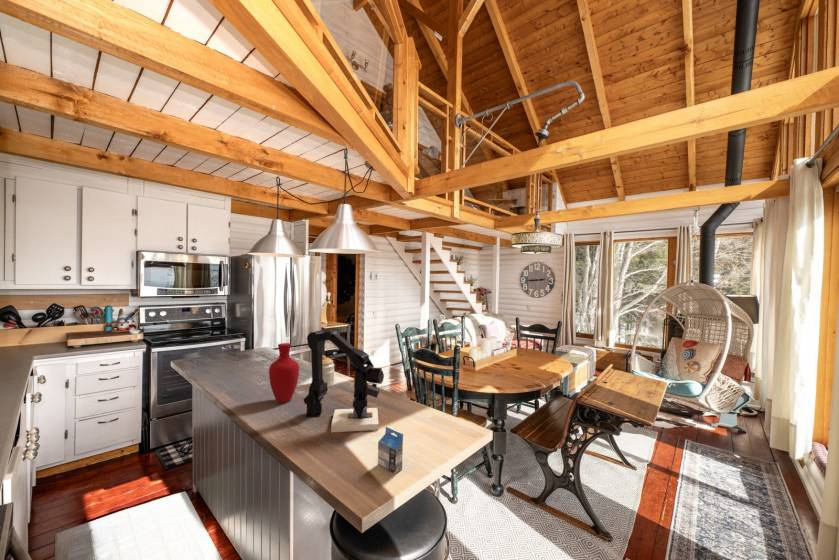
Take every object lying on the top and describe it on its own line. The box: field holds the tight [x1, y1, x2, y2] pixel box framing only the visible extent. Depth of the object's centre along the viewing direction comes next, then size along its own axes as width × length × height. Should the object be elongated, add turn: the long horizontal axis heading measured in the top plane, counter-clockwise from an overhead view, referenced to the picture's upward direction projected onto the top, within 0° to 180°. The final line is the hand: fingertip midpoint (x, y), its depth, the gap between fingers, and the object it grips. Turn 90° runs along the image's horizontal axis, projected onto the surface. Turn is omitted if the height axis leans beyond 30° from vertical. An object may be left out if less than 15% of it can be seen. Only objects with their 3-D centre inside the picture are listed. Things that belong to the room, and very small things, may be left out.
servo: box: [348, 406, 372, 419], centre depth 155 cm, size 11×4×6 cm, turn 99°
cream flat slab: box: [330, 407, 379, 433], centre depth 155 cm, size 20×18×3 cm
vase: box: [268, 342, 300, 404], centre depth 178 cm, size 15×15×30 cm
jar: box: [322, 355, 335, 388], centre depth 206 cm, size 13×13×18 cm
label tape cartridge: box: [377, 426, 404, 475], centre depth 119 cm, size 9×4×12 cm, turn 50°
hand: (360, 415), depth 155 cm, fingers open, 8 cm apart
